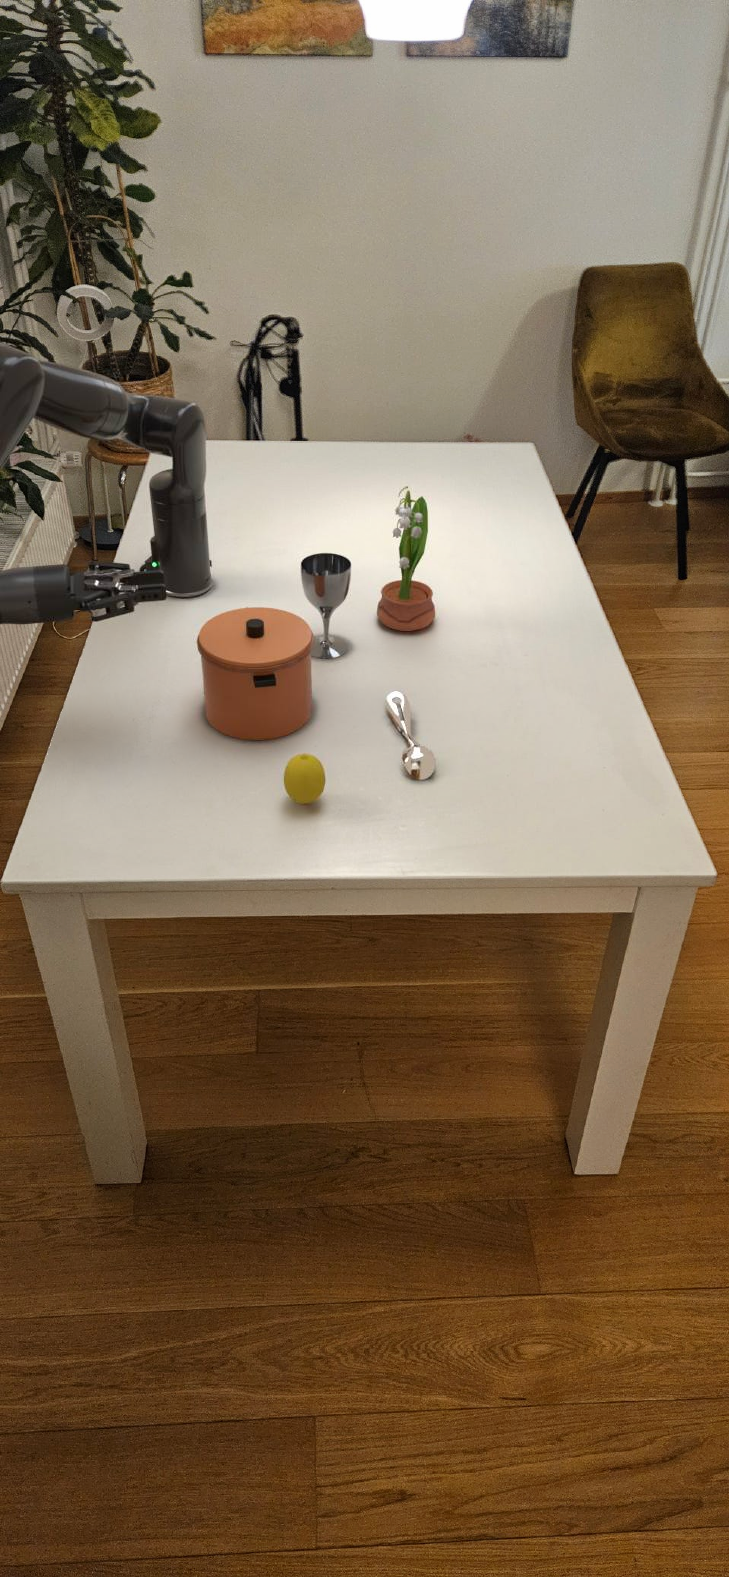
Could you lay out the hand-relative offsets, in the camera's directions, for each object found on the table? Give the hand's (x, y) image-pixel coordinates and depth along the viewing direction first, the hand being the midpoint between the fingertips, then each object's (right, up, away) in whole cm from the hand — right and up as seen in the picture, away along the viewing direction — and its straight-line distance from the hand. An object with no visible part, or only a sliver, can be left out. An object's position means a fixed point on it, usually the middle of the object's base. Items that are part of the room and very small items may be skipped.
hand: (164, 584), depth 150 cm
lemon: (+19, -30, -2) cm, 36 cm away
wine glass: (+21, -5, +31) cm, 38 cm away
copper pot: (+11, -16, +16) cm, 25 cm away
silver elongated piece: (+34, -21, +10) cm, 41 cm away
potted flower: (+34, 0, +38) cm, 51 cm away
